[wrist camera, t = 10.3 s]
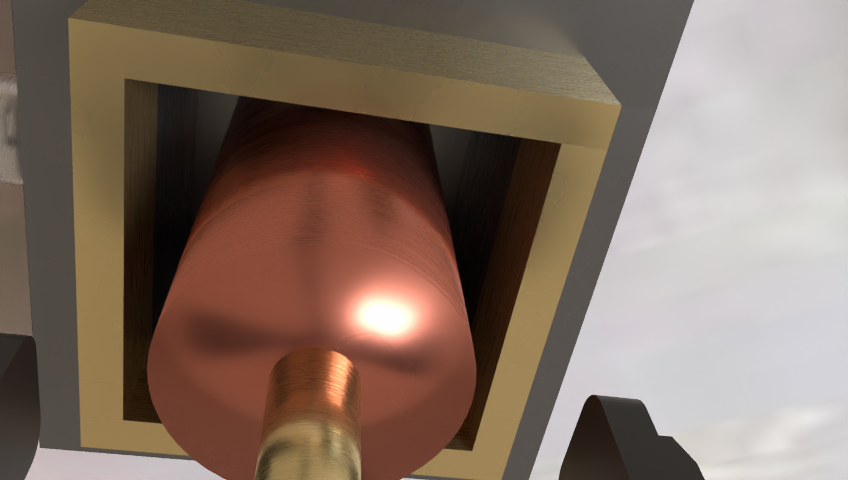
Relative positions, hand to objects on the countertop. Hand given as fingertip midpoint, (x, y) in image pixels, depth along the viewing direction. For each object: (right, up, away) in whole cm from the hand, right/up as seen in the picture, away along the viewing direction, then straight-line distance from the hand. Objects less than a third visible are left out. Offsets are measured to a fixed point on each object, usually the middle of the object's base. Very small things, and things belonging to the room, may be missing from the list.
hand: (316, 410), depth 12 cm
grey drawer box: (-1, +6, +10) cm, 12 cm away
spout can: (-1, +5, +9) cm, 11 cm away
